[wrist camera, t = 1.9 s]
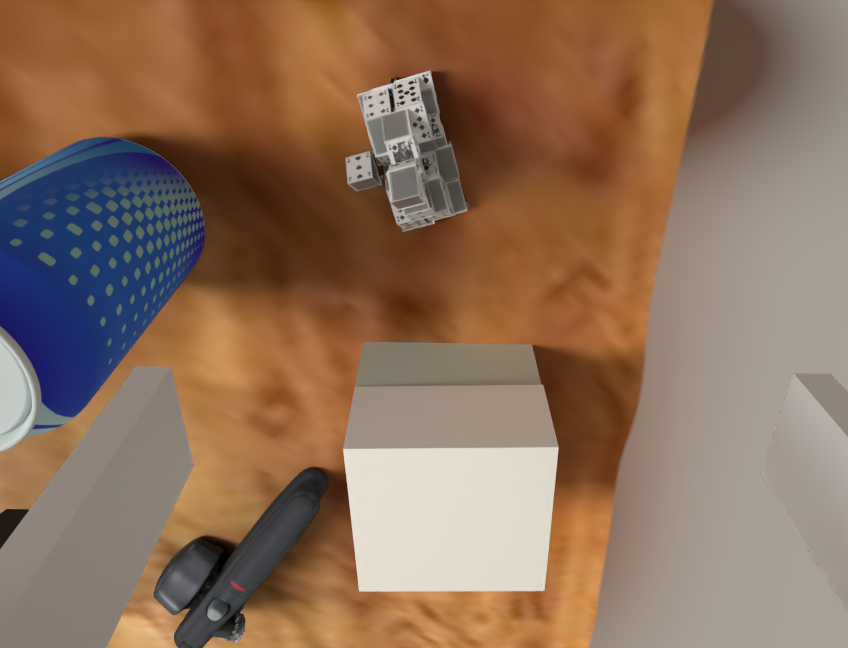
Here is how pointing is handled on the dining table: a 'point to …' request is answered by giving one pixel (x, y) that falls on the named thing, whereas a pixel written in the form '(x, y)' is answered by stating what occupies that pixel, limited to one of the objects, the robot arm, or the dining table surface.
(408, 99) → the house of cards
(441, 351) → the tower bottom block
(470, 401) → the tower top block
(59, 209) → the beer can
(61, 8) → the dining table surface
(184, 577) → the can opener
